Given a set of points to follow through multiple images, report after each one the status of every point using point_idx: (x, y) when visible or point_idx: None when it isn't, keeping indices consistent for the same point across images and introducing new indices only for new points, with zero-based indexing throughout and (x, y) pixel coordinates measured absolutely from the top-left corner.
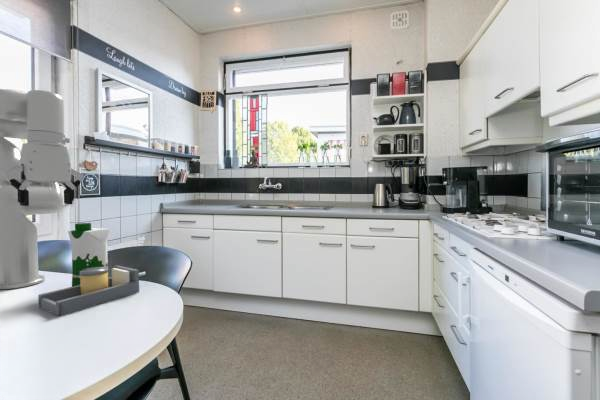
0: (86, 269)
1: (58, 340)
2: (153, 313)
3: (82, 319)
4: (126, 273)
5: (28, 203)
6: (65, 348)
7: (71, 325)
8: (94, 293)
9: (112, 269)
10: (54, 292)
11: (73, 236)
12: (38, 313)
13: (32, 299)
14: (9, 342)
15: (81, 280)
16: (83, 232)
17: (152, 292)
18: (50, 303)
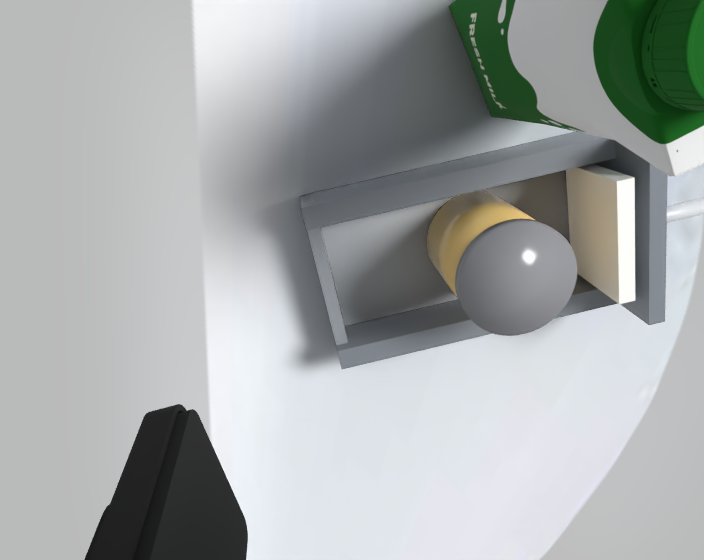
0: (497, 247)
1: (309, 510)
2: (525, 496)
3: (381, 419)
4: (617, 300)
5: (242, 550)
6: (314, 554)
7: (350, 442)
8: (457, 341)
9: (615, 189)
10: (354, 219)
11: (595, 35)
12: (292, 273)
13: (289, 47)
14: (219, 453)
15: (450, 279)
16: (657, 137)
17: (629, 323)
18: (326, 306)
